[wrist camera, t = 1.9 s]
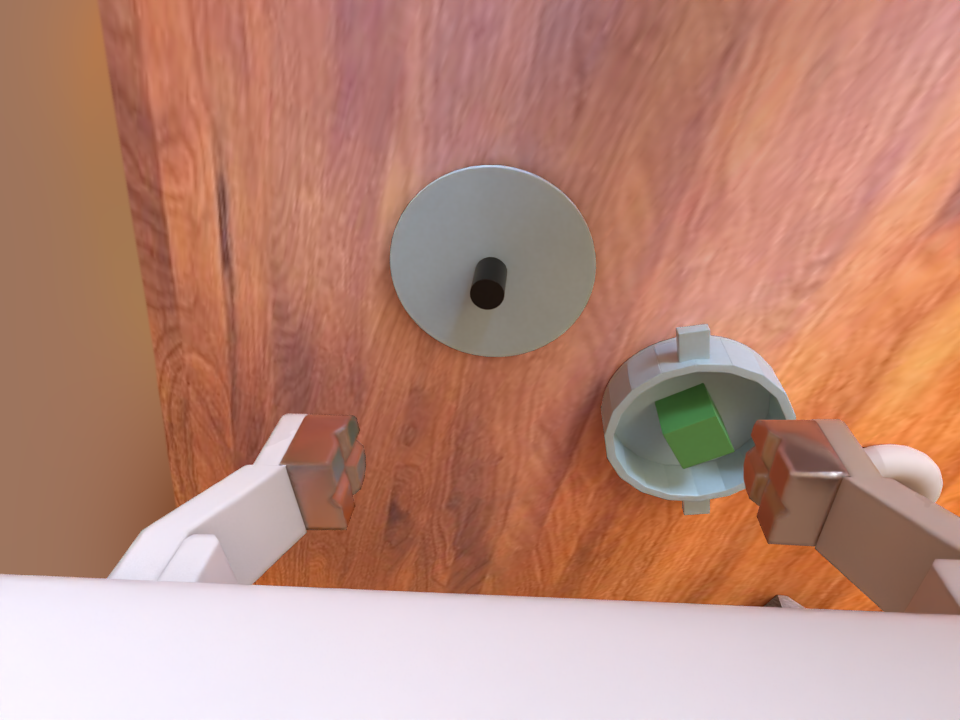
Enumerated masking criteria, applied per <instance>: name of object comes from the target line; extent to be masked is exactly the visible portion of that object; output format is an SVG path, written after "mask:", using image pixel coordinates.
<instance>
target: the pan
mask: <svg viewBox="0 0 960 720" xmlns="http://www.w3.org/2000/svg"><path fill="white" fill-rule="evenodd" d="M701 383H704V384H705V386H706V388H707V390H708V392H709V394H710V396H711V398H712V400H713V402H714V404H715V406H716V408H717V410H718V412H719V414H720V416H721V418H722V420H723V423H724V425H725V428H726V430H727V433H728V435H729V438H730V441H731V443H732V446H733V448H734V451H735V452H733V453H730V454H727V455H724V456H721V457H718V458H715V459H712V460H709V461H706V462H703V463H700V464H697V465H694V466H691V467H688V468H685V469H683V468H682V467H681V465H680V463H679V462H678V460H677V458H676V456H675V455H674V453H673V451H672V450H671V448H670V446H669V445H668V443H667V441H666V439H665V438H664V436H663V434H662V430H661V426H660V422H659V418H658V414H657V410H656V406H655V401H658V400H660V399H663V398H665V397H668V396H670V395H673V394H676V393H678V392H681V391H683V390H686V389H688V388H691V387H694V386H696V385H699V384H701ZM601 414H602V422H603V430H604V438H605V445H606V453H607V459H608V460H609V462H610V463H611V465H612V466H613V468H614V469H615V471H616V472H617V474H618V475H619V477H620V478H621V479H623V480H624V481H626V482H627V483H629V484H630V485H632V486H633V487H635V488H636V489H638V490H639V491H640V492H643V493H646V494H650V495H653V496H656V497H659V498H663V499H666V500H678V501H682V509H683V513H684V515H694V514H708V513H710V499H714V498H719V497H725V496H728V495H729V496H730V495H732V494H734V493H736V492H738V491H741V490H743V489H745V483H744V476H743V465H744V460H745V456H746V452H747V451H748V450H750V449H751V448H752V447H753V446H755V444H754V441H753V439H752V437H751V433H752V429H753V426H754V424H755V423H756V421H757V420H796V415H795V413H794V411H793V408H792V406H791V404H790V401H789V399H788V397H787V394H786V392H785V391H784V389H783V387H782V385H781V384H780V382H779V380H778V378H777V377H776V375H775V373H774V371H773V370H772V368H771V366H770V365H769V364H768V363H767V362H766V361H765V360H764V359H763V358H762V357H761V356H760V355H759V354H758V353H756V352H755V351H754V350H752V349H751V348H749V347H747V346H746V345H744V344H742V343H739V342H737V341H734V340H731V339H728V338H724V337H719V336H712V335H710V329H709V327H708V324H701V325H693V326H686V327H678V328H676V337H675V338H671V339H668V340H664V341H661V342H658V343H656V344H653V345H651V346H649V347H647V348H645V349H643V350H641V351H639V352H638V353H636V354H635V355H634V356H632V357H631V358H629V359H628V360H627V361H626V362H625V363H624V364H623V365H621V367H620V368H619V369H618V370H617V371H616V372H615V373H614V375H613V376H612V378H611V379H610V381H609V383H608V385H607V387H606V389H605V392H604V395H603V399H602V405H601Z"/></svg>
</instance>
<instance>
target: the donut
mask: <svg viewBox="0 0 960 720" xmlns="http://www.w3.org/2000/svg"><path fill="white" fill-rule="evenodd" d="M863 450H864V451H865V452H866V454H867V455H868V457H869V458H870V459H871V461H872V462H873V464H874V465H875V467H876V468H877V469H878V471H879V472H880V474H881V475H882V477H883V478H893V479H894V480H896V481H898V482H900V483H901V484H903V485H905V486H907V487H908V488H910V489H912V490H913V491H915V492H917V493H919V494H920V495H922V496H924V497H925V498H927V499H929V500H931V501H932V502H934V503H935V502H936V501H937V500H938V498H939V497H940V493H941V490H942V486H943V480H942V477H941V473H940V470H939V468H938V466H937V465H936V464H935V463H934V462H933V461H932V460H931V459H930V458H929V457H928V456H927V455H926V454H925V453H923V452H920V451H918V450H915V449H913V448H911V447H908V446H903V445H895V444H885V445H875V446H869V447H866V448H863Z"/></svg>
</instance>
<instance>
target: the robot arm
mask: <svg viewBox="0 0 960 720" xmlns="http://www.w3.org/2000/svg"><path fill="white" fill-rule="evenodd" d="M359 432H360V428H359V424H358V420H357V418H356V417H355V416H353V415H331V414H288V413H287V414H285V415H284V416H282V417H281V418H280V420H279V422H278V423H277V425H276V427H275V428H274V430H273V432H272V433H271V435H270V437H269V439H268V440H267V442H266V444H265V445H264V447H263V449H262V450H261V452H260V454H259V455H258V457H257V459H256V460H255V462H254V464H253V465H245V466H244V467H242V468H240V469H239V470H237V471H236V472H234V473H232V474H231V475H229V476H228V477H226V478H224V479H223V480H221V481H220V482H218V483H216V484H215V485H213V486H212V487H210V488H208V489H207V490H205V491H204V492H202V493H200V494H199V495H197V496H196V497H194V498H192V499H191V500H189V501H188V502H186V503H185V504H183V505H181V506H180V507H178V508H177V509H175V510H173V511H172V512H170V513H169V514H167V515H166V516H164V517H162V518H161V519H159V520H157V521H156V522H154V523H153V524H151V525H149V526H148V527H146V528H145V529H143V530H142V531H141V532H140V533H139V535H138V536H137V538H136V539H135V540H134V542H133V543H132V544H131V546H130V547H129V549H128V550H127V551H126V553H125V554H124V555H123V557H122V558H121V560H120V561H119V562H118V564H117V565H116V567H115V568H114V569H113V571H112V572H111V573H110V575H109V576H108V577H107V579H105V578H81V577H57V576H34V575H33V576H32V575H11V574H0V720H960V517H958V516H956V515H955V514H953V513H951V512H949V511H948V510H946V509H944V508H943V507H941V506H939V505H937V504H936V503H934V502H932V501H931V500H929V499H927V498H925V497H924V496H922V495H920V494H919V493H917V492H915V491H913V490H912V489H910V488H908V487H907V486H905V485H903V484H901V483H900V482H898V481H896V480H894V479H893V478H883V477H882V475H881V474H880V472H879V471H878V469H877V468H876V467H875V465H874V464H873V462H872V461H871V459H870V458H869V457H868V455H867V454H866V452H865V451H864V450H863V448H862V447H861V445H860V444H859V442H858V441H857V440H856V438H855V437H854V435H853V434H852V432H851V431H850V430H849V428H848V427H847V425H846V424H845V423H844V422H843V421H841V420H840V419H811V420H757V421H756V423H755V424H754V426H753V429H752V433H751V437H752V439H753V441H754V444H755V446H753V447H752V448H751V449H750V450H748V451H747V452H746V456H745V460H744V465H743V476H744V483H745V488H746V491H747V493H748V496H749V499H751V500H752V501H753V502H755V503H756V504H757V505H759V506H760V507H759V510H758V513H757V518H758V521H759V523H760V526H761V528H762V530H763V533H764V535H765V538H766V540H767V542H768V544H782V545H800V546H815V549H816V550H817V551H818V552H819V553H820V554H821V555H822V556H824V557H825V558H826V559H827V560H828V561H829V562H830V563H831V564H832V565H833V566H835V567H836V568H837V569H838V570H839V571H840V572H841V573H842V574H843V575H844V576H846V577H847V578H848V579H849V580H850V581H851V582H852V583H853V584H854V585H855V586H857V587H858V588H859V589H860V590H861V591H862V592H863V593H864V594H865V595H866V596H868V597H869V598H870V599H871V600H872V601H873V602H874V603H875V604H876V605H877V606H878V607H880V608H881V609H882V610H883V611H884V612H876V611H853V610H829V609H804V608H780V607H756V606H734V605H711V604H688V603H666V602H643V601H620V600H597V599H573V598H549V597H526V596H502V595H478V594H455V593H431V592H408V591H385V590H361V589H338V588H314V587H291V586H267V585H252V584H253V583H254V582H255V581H256V580H257V579H258V578H259V577H260V576H262V575H263V574H264V573H265V572H266V571H267V570H268V569H269V568H270V567H271V566H272V565H273V564H274V563H275V562H276V561H277V560H278V559H279V558H280V557H281V556H282V555H284V554H285V553H286V552H287V551H288V550H289V549H290V548H291V547H292V546H293V545H294V544H295V543H296V542H297V541H298V540H299V539H300V538H301V537H302V536H303V535H304V534H306V533H307V531H306V530H347V527H348V525H349V522H350V519H351V516H352V513H353V511H354V508H355V502H354V498H353V495H354V494H356V493H357V492H358V491H359V490H361V488H362V485H363V482H364V478H365V470H366V455H365V450H364V446H363V445H362V444H361V443H360V442H359V441H358V440H356V439H357V437H358V434H359Z"/></svg>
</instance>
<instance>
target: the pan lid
mask: <svg viewBox="0 0 960 720" xmlns="http://www.w3.org/2000/svg"><path fill="white" fill-rule="evenodd" d="M390 270H391V276H392V280H393V284H394V288H395V290H396V293H397V295H398V298H399V299H400V301H401V303H402V305H403V307H404V308H405V310H406V311H407V313H408V314H409V315H410V317H411V318H412V319H413V320H414V321H415V322H416V323H417V324H418V326H419V327H420V328H422V329H423V330H424V331H425V332H426V333H428V334H429V335H430V336H432V337H433V338H435V339H436V340H438V341H439V342H441V343H443V344H445V345H447V346H449V347H451V348H453V349H456V350H459V351H461V352H465V353H469V354H472V355H478V356H485V357H506V356H514V355H519V354H524V353H527V352H530V351H534V350H536V349H538V348H540V347H543V346H545V345H547V344H548V343H550V342H552V341H554V340H555V339H557V338H558V337H559V336H560V335H562V334H563V333H564V332H565V331H567V330H568V329H569V328H570V327H571V326H572V325H573V324H574V322H575V321H576V320H577V318H578V317H579V316H580V315H581V313H582V311H583V310H584V308H585V306H586V304H587V303H588V300H589V298H590V295H591V293H592V289H593V285H594V281H595V273H596V254H595V249H594V244H593V239H592V236H591V233H590V230H589V227H588V225H587V223H586V221H585V219H584V218H583V216H582V214H581V213H580V211H579V210H578V208H577V207H576V206H575V204H574V203H573V202H572V201H571V200H570V199H569V198H568V197H567V196H566V195H565V193H563V192H562V191H561V190H560V189H558V188H557V187H556V186H555V185H553V184H552V183H550V182H548V181H547V180H545V179H543V178H542V177H540V176H537V175H535V174H533V173H530V172H528V171H525V170H521V169H518V168H514V167H508V166H501V165H479V166H471V167H466V168H463V169H459V170H455V171H453V172H450V173H448V174H446V175H443V176H441V177H440V178H438V179H436V180H435V181H433V182H431V183H430V184H428V185H427V186H426V187H425V188H423V189H422V190H421V191H420V192H419V193H418V194H417V195H416V196H415V197H414V198H413V199H412V200H411V201H410V203H409V204H408V206H407V207H406V209H405V210H404V211H403V213H402V215H401V217H400V219H399V221H398V223H397V225H396V227H395V231H394V234H393V237H392V241H391V247H390Z"/></svg>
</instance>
